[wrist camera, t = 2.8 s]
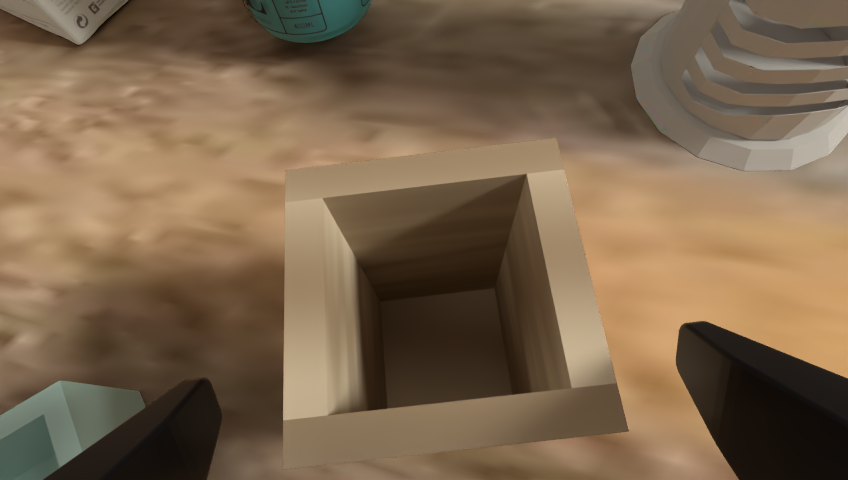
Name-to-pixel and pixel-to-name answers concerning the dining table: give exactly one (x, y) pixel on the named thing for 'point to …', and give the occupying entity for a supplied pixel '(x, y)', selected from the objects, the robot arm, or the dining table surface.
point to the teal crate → (60, 426)
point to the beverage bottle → (307, 17)
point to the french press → (748, 80)
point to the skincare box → (64, 15)
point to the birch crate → (439, 308)
